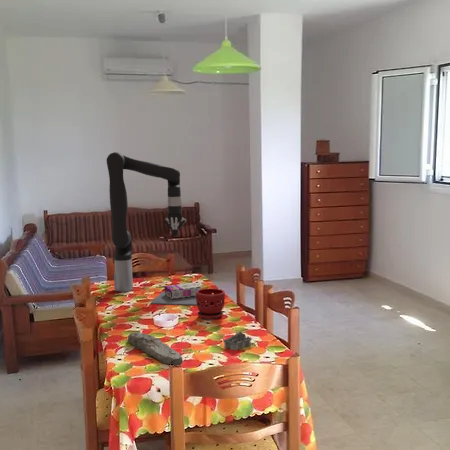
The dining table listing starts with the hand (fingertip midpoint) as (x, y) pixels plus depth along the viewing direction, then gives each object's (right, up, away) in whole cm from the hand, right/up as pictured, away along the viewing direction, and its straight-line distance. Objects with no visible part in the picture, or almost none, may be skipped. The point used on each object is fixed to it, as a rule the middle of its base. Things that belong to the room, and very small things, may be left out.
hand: (175, 236), depth 296 cm
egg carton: (+32, -41, -86) cm, 100 cm away
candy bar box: (-3, -29, -19) cm, 35 cm away
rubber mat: (+4, -32, -19) cm, 38 cm away
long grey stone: (0, -43, -90) cm, 99 cm away
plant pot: (+21, -36, -49) cm, 64 cm away
